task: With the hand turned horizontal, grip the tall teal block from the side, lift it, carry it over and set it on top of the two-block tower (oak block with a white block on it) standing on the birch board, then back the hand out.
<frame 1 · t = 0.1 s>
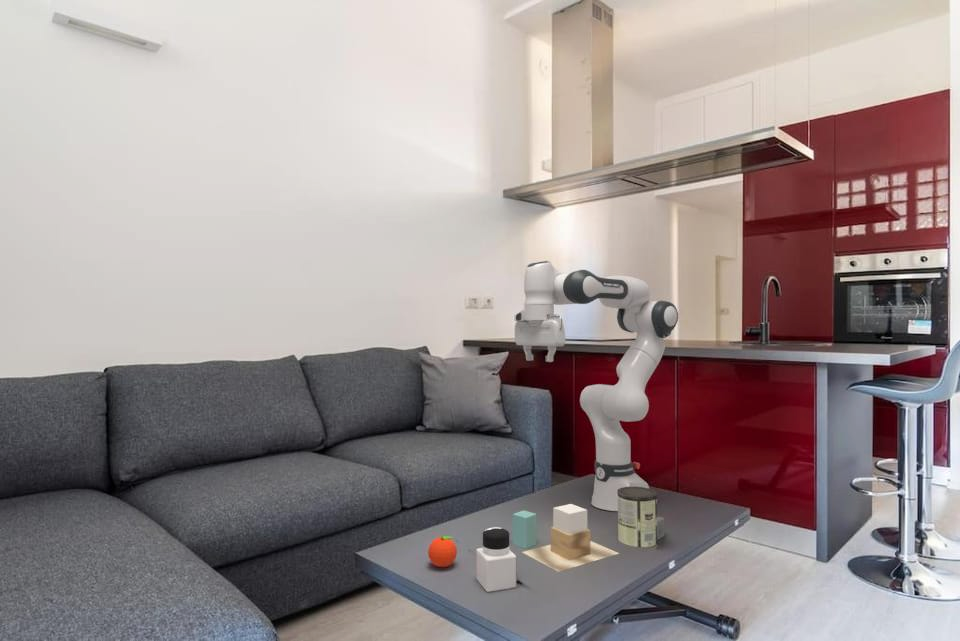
hand: (539, 361, 171), 48 cm above the table, tool pointing down, fingers open, 8 cm apart
white block: (570, 528, 144), point 7 cm above the table, touching oak block
teal block: (524, 548, 149), on the table
clementine: (444, 566, 139), on the table
dice cube: (652, 537, 158), on the table
birch board: (570, 557, 143), on the table
medicine bottle: (496, 584, 129), on the table
coffee can: (637, 545, 152), on the table
oak block: (570, 552, 143), point 1 cm above the table, touching birch board, white block
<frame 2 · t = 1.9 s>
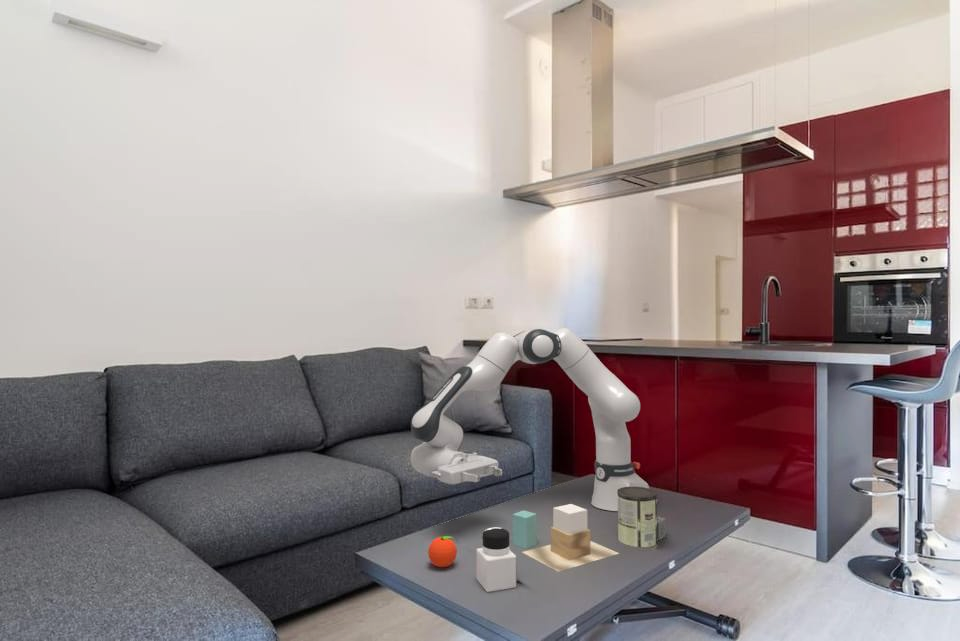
hand: (489, 475, 158), 17 cm above the table, tool horizontal, fingers open, 8 cm apart
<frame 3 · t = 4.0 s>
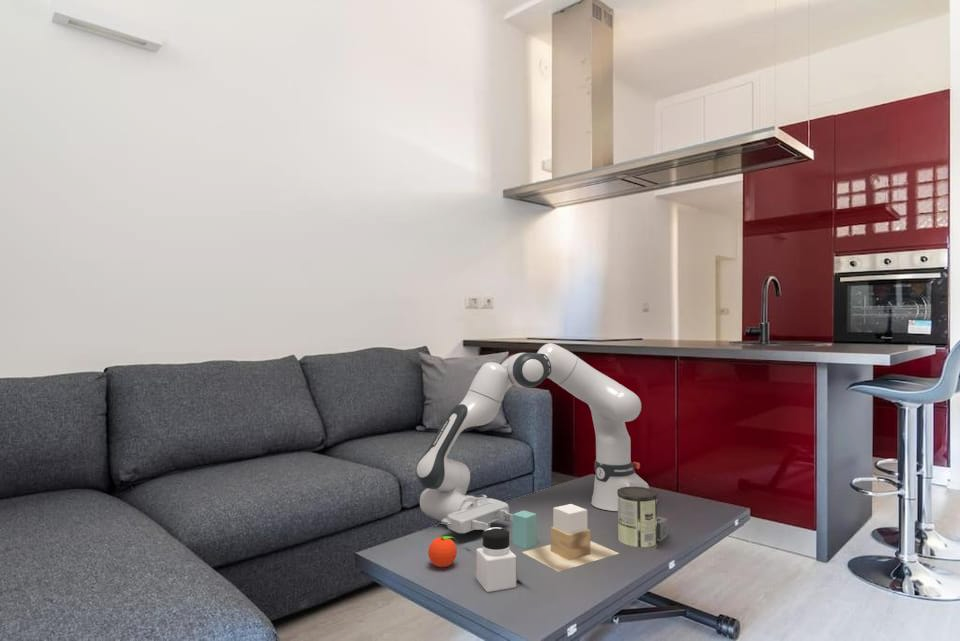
hand: (500, 522, 155), 5 cm above the table, tool horizontal, fingers open, 8 cm apart
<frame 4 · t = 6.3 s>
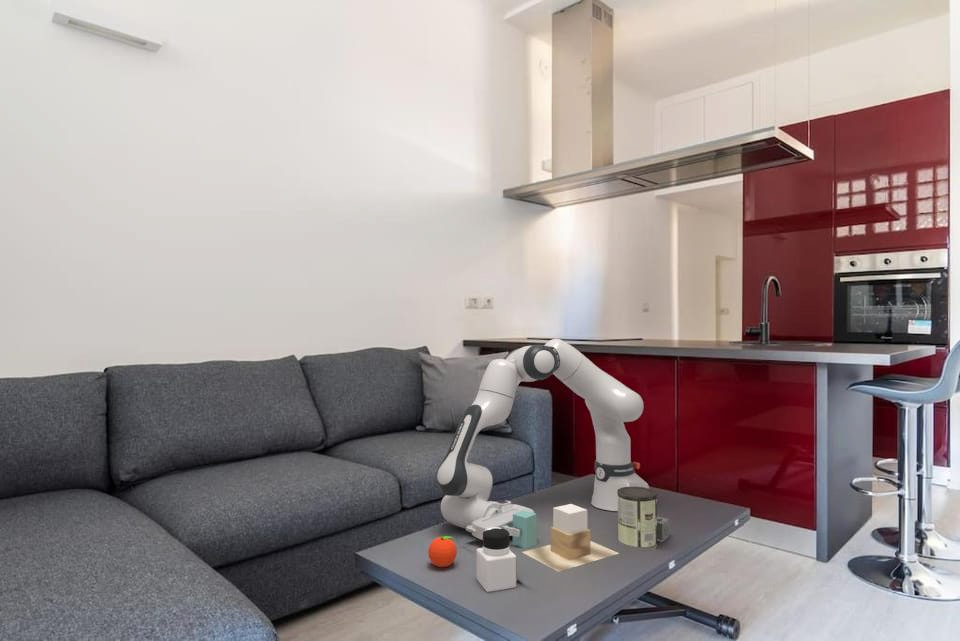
hand: (527, 529, 149), 5 cm above the table, tool horizontal, fingers closed on teal block, 4 cm apart
teal block: (524, 548, 149), on the table, touching gripper
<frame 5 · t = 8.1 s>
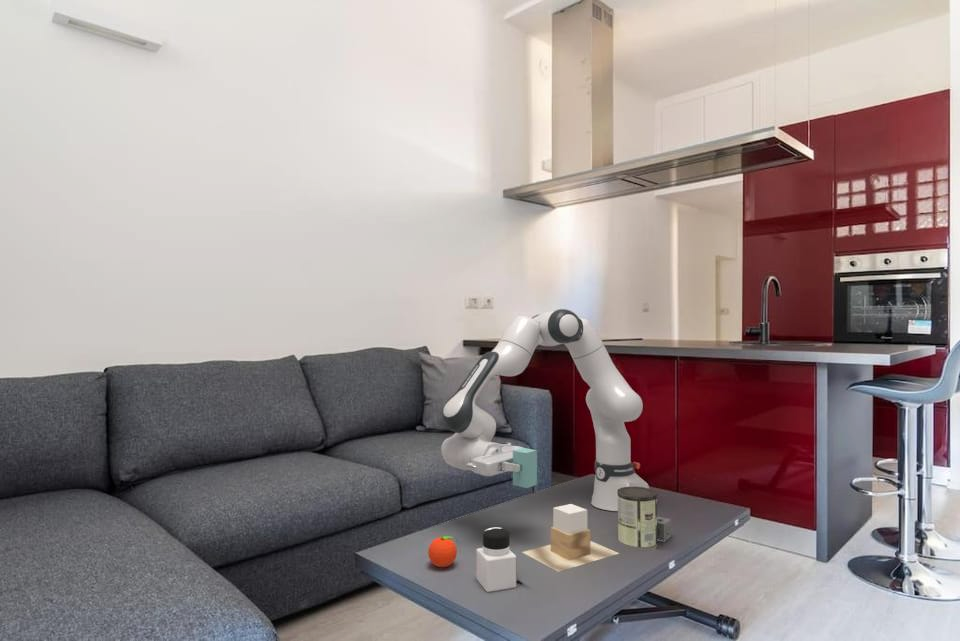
hand: (527, 466, 149), 22 cm above the table, tool horizontal, fingers closed on teal block, 4 cm apart
teal block: (524, 484, 150), point 17 cm above the table, touching gripper
when the fingers open (18 cm above the table, at t = 10.1 s): teal block drops 1 cm, resting on white block.
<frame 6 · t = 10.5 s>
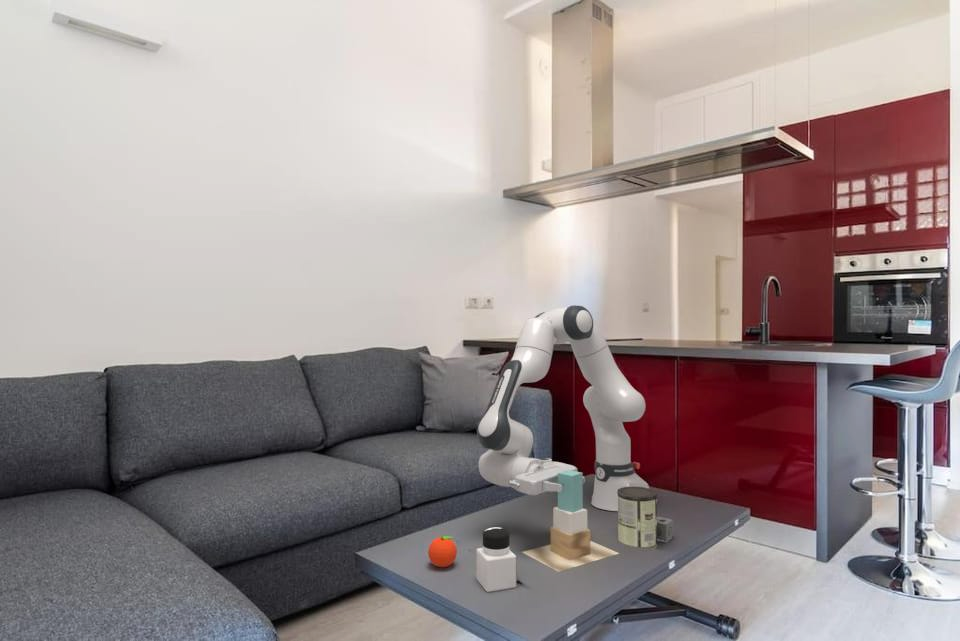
hand: (573, 484, 143), 19 cm above the table, tool horizontal, fingers open, 8 cm apart
white block: (570, 528, 144), point 7 cm above the table, touching oak block, teal block
teal block: (570, 508, 144), point 12 cm above the table, touching white block
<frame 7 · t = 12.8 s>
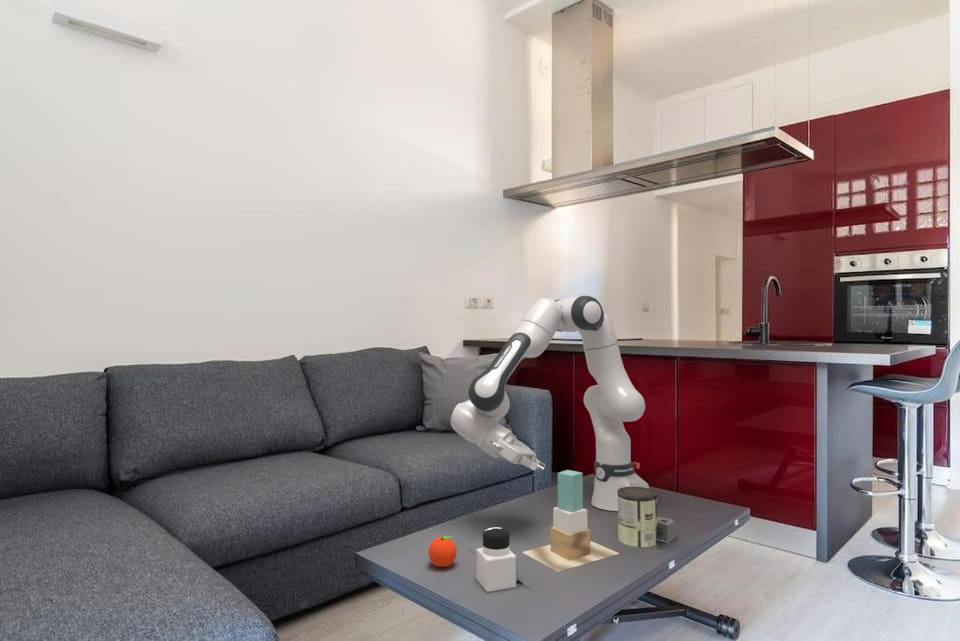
hand: (540, 468, 156), 19 cm above the table, tool tilted 65°, fingers open, 8 cm apart
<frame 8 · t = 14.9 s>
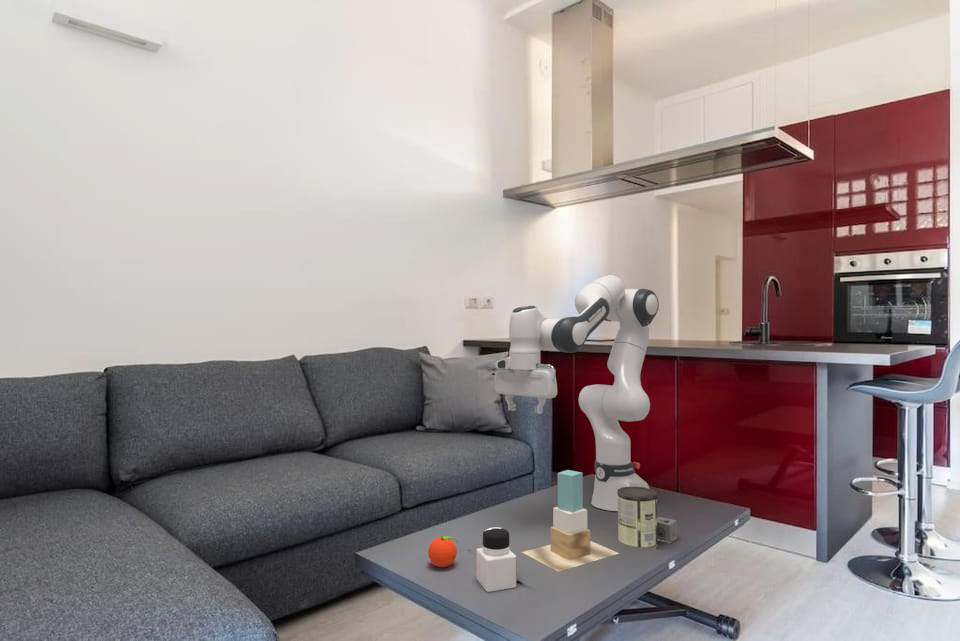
hand: (525, 411, 161), 34 cm above the table, tool pointing down, fingers open, 8 cm apart
at the end: teal block 0.0 cm off-centre on the white block, point 5.0 cm above the white block's base; white block tilted 0°; white block 0.0 cm from the oak block (horizontally) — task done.
